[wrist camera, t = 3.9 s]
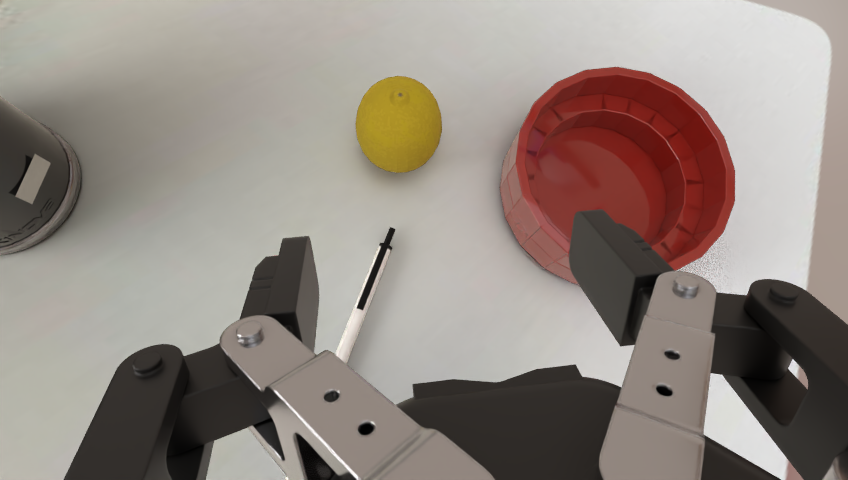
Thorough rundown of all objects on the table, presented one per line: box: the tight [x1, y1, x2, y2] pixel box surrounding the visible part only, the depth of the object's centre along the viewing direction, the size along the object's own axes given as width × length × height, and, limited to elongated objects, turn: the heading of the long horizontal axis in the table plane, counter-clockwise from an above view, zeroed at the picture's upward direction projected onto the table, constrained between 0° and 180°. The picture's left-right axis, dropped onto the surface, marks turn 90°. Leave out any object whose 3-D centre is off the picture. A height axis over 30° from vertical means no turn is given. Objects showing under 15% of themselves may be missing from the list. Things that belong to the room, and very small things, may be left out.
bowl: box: [500, 67, 735, 284], centre depth 33 cm, size 14×14×6 cm
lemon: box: [356, 76, 442, 173], centre depth 32 cm, size 6×6×8 cm
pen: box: [285, 227, 395, 480], centre depth 31 cm, size 1×19×1 cm, turn 160°
